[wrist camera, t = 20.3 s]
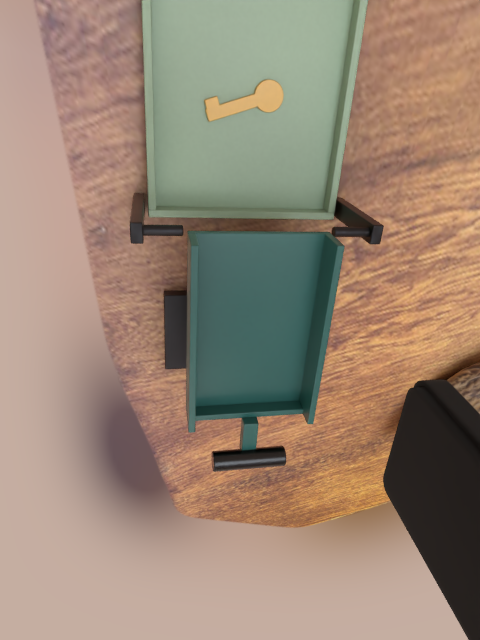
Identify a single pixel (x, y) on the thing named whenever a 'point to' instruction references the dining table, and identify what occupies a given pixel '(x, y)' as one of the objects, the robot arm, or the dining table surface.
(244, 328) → the scoop
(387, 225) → the dining table surface
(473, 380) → the bird model
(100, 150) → the dining table surface
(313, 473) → the dining table surface
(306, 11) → the tray
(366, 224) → the stand
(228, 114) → the key
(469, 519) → the robot arm
